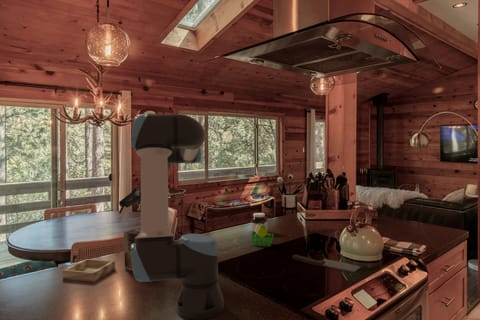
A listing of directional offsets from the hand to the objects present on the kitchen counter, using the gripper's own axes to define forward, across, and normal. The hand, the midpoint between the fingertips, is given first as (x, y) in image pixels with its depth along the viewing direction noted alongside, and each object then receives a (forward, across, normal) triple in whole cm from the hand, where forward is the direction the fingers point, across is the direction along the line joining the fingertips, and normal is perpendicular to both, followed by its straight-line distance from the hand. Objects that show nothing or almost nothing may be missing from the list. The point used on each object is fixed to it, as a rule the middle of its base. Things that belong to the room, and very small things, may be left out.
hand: (134, 225), depth 139 cm
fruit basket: (-21, -58, -31) cm, 69 cm away
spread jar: (-36, -58, -48) cm, 83 cm away
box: (+19, +13, -14) cm, 27 cm away
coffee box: (+12, -5, -16) cm, 20 cm away
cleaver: (-7, -84, -6) cm, 84 cm away
